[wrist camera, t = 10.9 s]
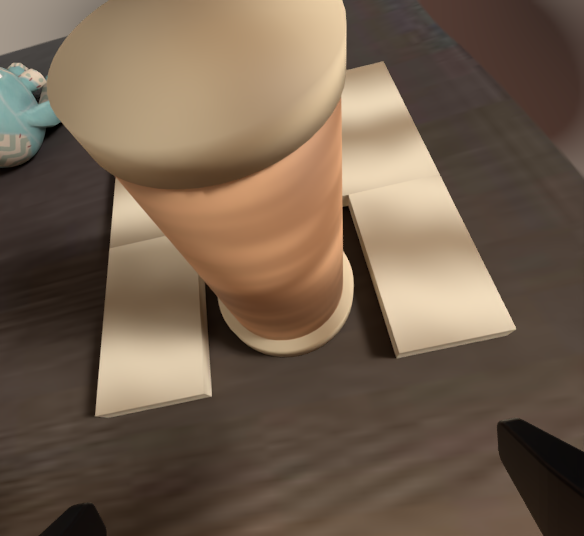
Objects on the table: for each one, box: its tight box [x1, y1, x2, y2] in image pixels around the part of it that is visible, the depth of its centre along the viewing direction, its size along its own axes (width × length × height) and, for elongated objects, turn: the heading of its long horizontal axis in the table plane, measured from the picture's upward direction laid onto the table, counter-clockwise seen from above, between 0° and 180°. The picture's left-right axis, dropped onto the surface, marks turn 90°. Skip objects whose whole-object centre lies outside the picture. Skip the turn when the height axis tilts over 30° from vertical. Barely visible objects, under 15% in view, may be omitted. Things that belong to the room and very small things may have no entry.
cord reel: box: [47, 0, 354, 357], centre depth 13 cm, size 7×7×13 cm
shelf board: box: [95, 62, 516, 418], centre depth 20 cm, size 20×19×1 cm
